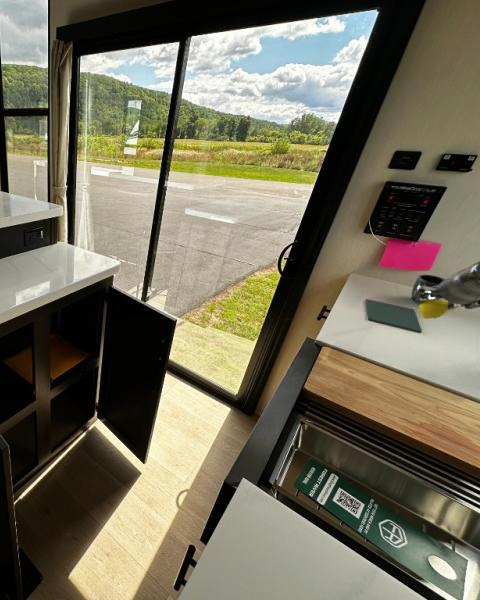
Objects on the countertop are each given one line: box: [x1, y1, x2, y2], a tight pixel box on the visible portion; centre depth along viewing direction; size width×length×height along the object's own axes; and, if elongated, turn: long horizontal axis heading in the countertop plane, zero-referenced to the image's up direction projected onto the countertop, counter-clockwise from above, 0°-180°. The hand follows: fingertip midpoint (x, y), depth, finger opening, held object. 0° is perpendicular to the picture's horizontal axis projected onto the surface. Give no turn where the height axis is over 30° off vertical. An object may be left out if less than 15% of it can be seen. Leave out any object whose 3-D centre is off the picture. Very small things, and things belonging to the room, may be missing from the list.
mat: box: [365, 298, 423, 334], centre depth 115 cm, size 14×16×1 cm
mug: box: [410, 274, 445, 302], centre depth 118 cm, size 8×12×10 cm
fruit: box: [418, 300, 449, 320], centre depth 92 cm, size 6×6×8 cm
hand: (432, 303), depth 93 cm, fingers closed on fruit, 5 cm apart
